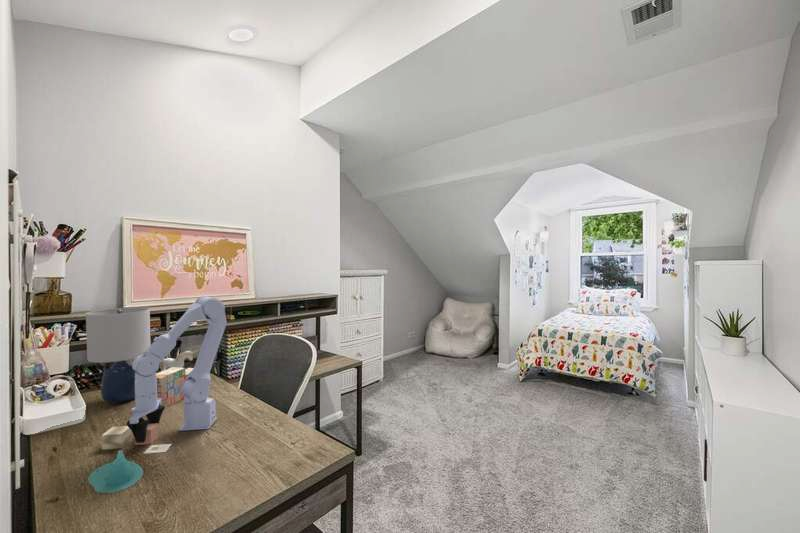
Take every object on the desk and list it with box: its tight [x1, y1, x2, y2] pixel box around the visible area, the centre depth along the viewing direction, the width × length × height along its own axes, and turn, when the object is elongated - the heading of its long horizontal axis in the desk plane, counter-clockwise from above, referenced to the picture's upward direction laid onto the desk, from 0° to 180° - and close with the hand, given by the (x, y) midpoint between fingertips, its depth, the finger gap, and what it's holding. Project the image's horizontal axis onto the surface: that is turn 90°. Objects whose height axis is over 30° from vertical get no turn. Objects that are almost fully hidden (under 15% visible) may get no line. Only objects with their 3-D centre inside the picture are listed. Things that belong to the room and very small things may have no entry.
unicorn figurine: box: [159, 348, 201, 372], centre depth 175 cm, size 7×20×13 cm, turn 91°
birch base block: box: [101, 425, 133, 450], centre depth 114 cm, size 6×6×4 cm
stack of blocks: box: [156, 367, 194, 408], centre depth 151 cm, size 21×6×12 cm, turn 168°
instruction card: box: [142, 443, 173, 455], centre depth 111 cm, size 6×4×1 cm
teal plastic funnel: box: [87, 449, 144, 494], centre depth 98 cm, size 12×20×9 cm, turn 50°
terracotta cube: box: [134, 423, 160, 446], centre depth 116 cm, size 4×4×4 cm
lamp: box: [85, 306, 152, 404], centre depth 149 cm, size 20×20×37 cm
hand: (147, 436), depth 116 cm, fingers open, 7 cm apart
